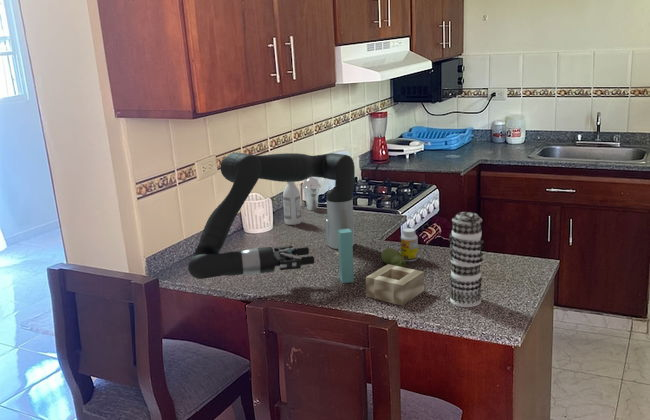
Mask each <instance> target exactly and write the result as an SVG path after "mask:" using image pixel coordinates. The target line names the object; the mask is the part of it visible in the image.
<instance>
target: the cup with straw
mask: <svg viewBox="0 0 650 420" xmlns="http://www.w3.org/2000/svg"><path fill="white" fill-rule="evenodd" d="M320 188H321V184H320V183H319V180H317V179H316V177H309V178H307V179H305V180H303V184H302V185H301V189H302V190H303V193H304V198H305V203H306V204H305V205H306V209H307V210H309V211H310V210H311V211H313V210H318V205H319V192H320Z"/></svg>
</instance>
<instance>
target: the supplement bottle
mask: <svg viewBox="0 0 650 420" xmlns="http://www.w3.org/2000/svg"><path fill="white" fill-rule="evenodd" d="M418 237H419V236H418V235H417V234H416V230H415V228H410V227H409V228H404V229H403V230H402V234H401V235H400V255H401V256H402V257H403V258H404V259H405V261H406V262H408V263H409V262H416V261H417V260H418V258H419V257H418V256H419V255H418V253H419V248H418V247H419V245H418V244H419V243H418V242H419V241H418V240H419V238H418Z"/></svg>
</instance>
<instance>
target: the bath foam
mask: <svg viewBox="0 0 650 420" xmlns="http://www.w3.org/2000/svg"><path fill="white" fill-rule="evenodd" d="M282 201H283V217H284V224H285V225H287V226H295V225H300V224H302V204H301V201H302V200H301V193H300V190H299V188H298V186H297V185H296V184H295V182H286V186H285V187H284V189H283V193H282Z"/></svg>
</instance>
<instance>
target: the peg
mask: <svg viewBox="0 0 650 420" xmlns="http://www.w3.org/2000/svg"><path fill="white" fill-rule="evenodd" d="M353 247H354V246H353V244H352V231H351V230H350V229H340V230H338V249H337V251H338V270H339V271H338V272H339V273H338V274H339V275H338V276H339V280H340V283H342V284H347V283H354V282H355V279H354V276H355V275H354V272H355V271H354V252H353V251H354V250H353Z"/></svg>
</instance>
